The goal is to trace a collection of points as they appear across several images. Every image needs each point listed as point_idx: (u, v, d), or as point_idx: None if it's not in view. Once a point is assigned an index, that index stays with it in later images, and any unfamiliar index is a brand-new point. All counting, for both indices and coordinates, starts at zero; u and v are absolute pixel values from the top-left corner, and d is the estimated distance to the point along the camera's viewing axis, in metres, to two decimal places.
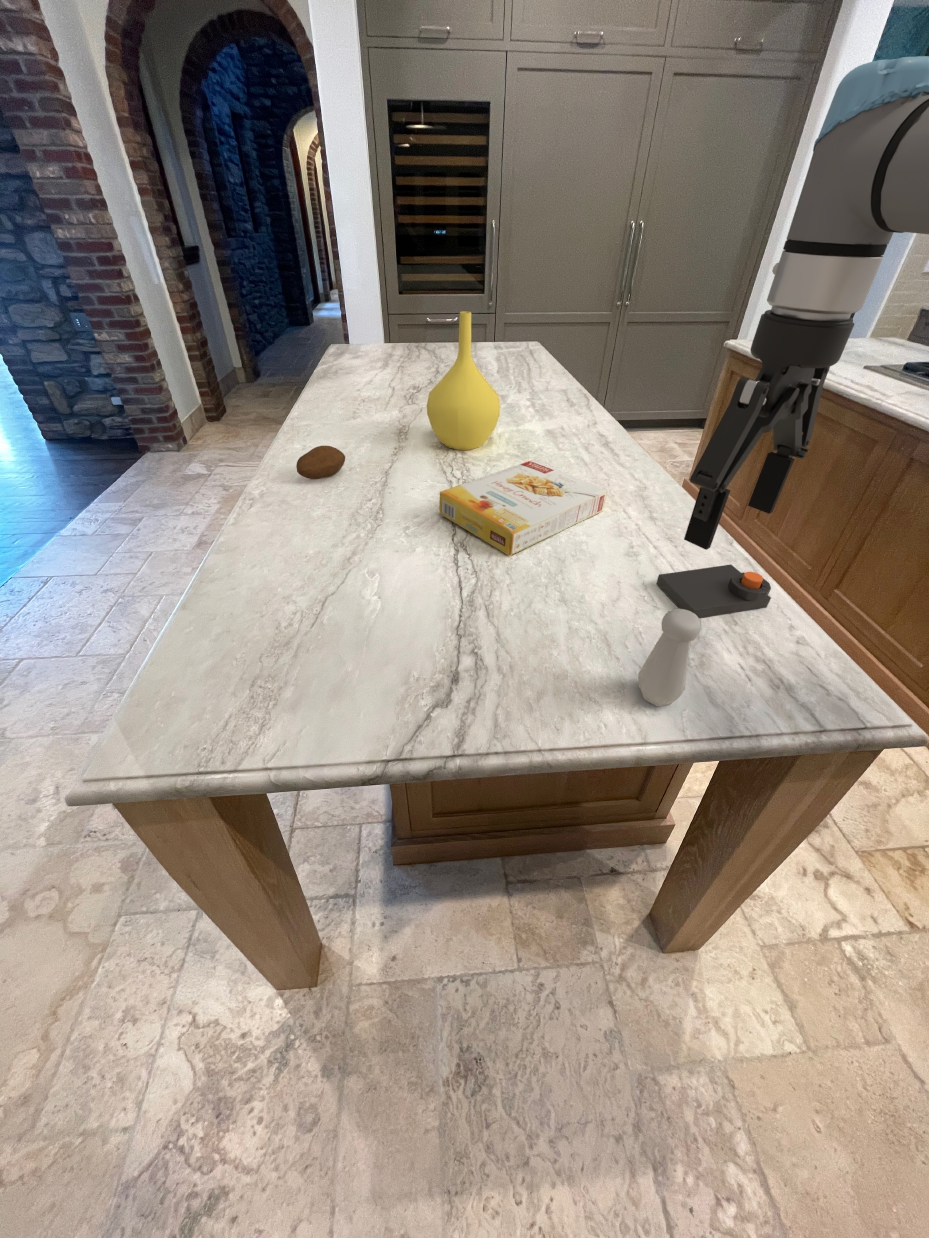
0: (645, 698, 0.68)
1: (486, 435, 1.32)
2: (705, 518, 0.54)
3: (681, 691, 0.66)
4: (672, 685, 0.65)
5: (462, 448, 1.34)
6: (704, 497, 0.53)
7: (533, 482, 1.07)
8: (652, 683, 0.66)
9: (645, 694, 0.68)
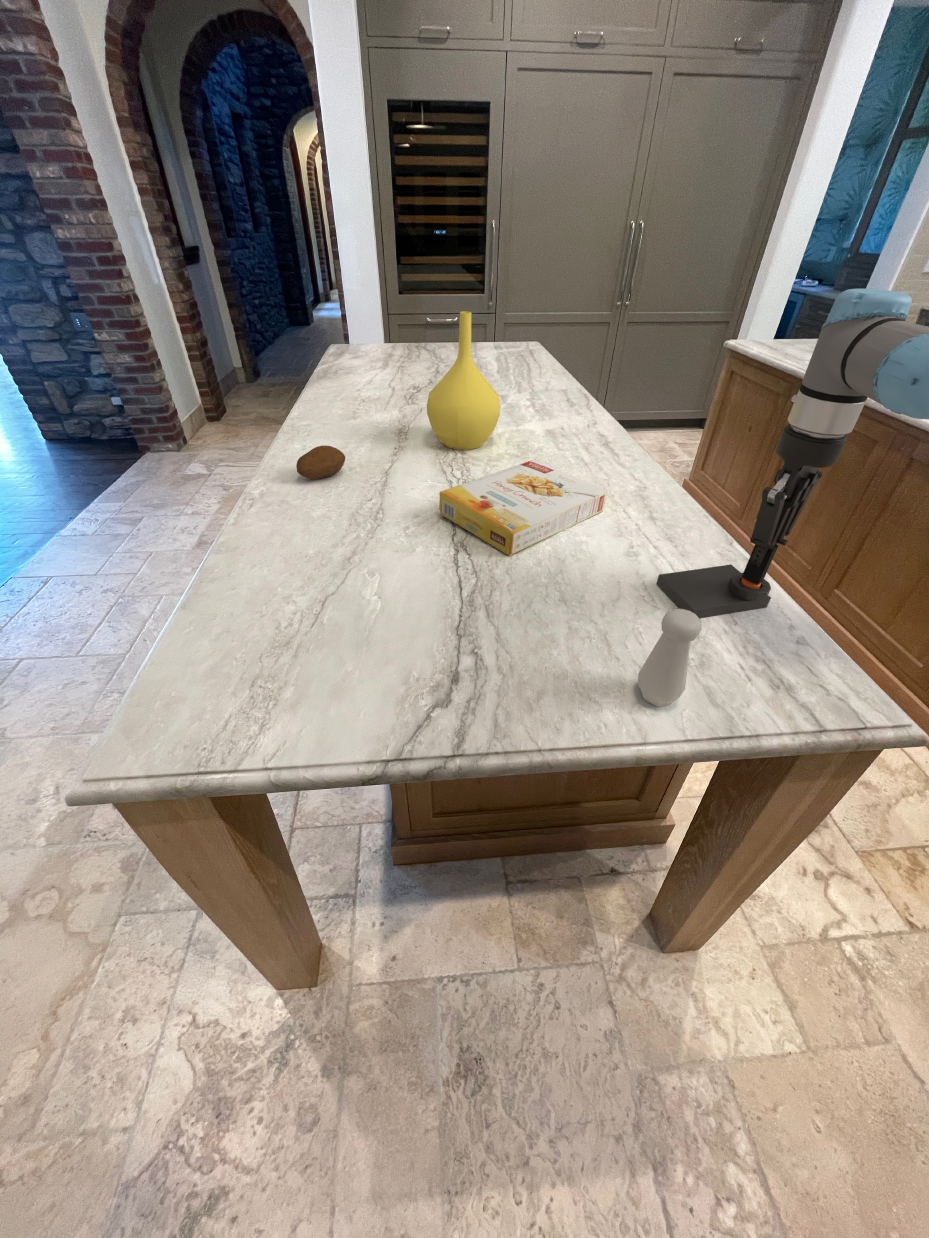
0: (645, 698, 0.68)
1: (486, 435, 1.32)
2: (758, 564, 0.81)
3: (681, 691, 0.66)
4: (672, 685, 0.65)
5: (462, 448, 1.34)
6: (758, 551, 0.80)
7: (533, 482, 1.07)
8: (652, 683, 0.66)
9: (645, 694, 0.68)
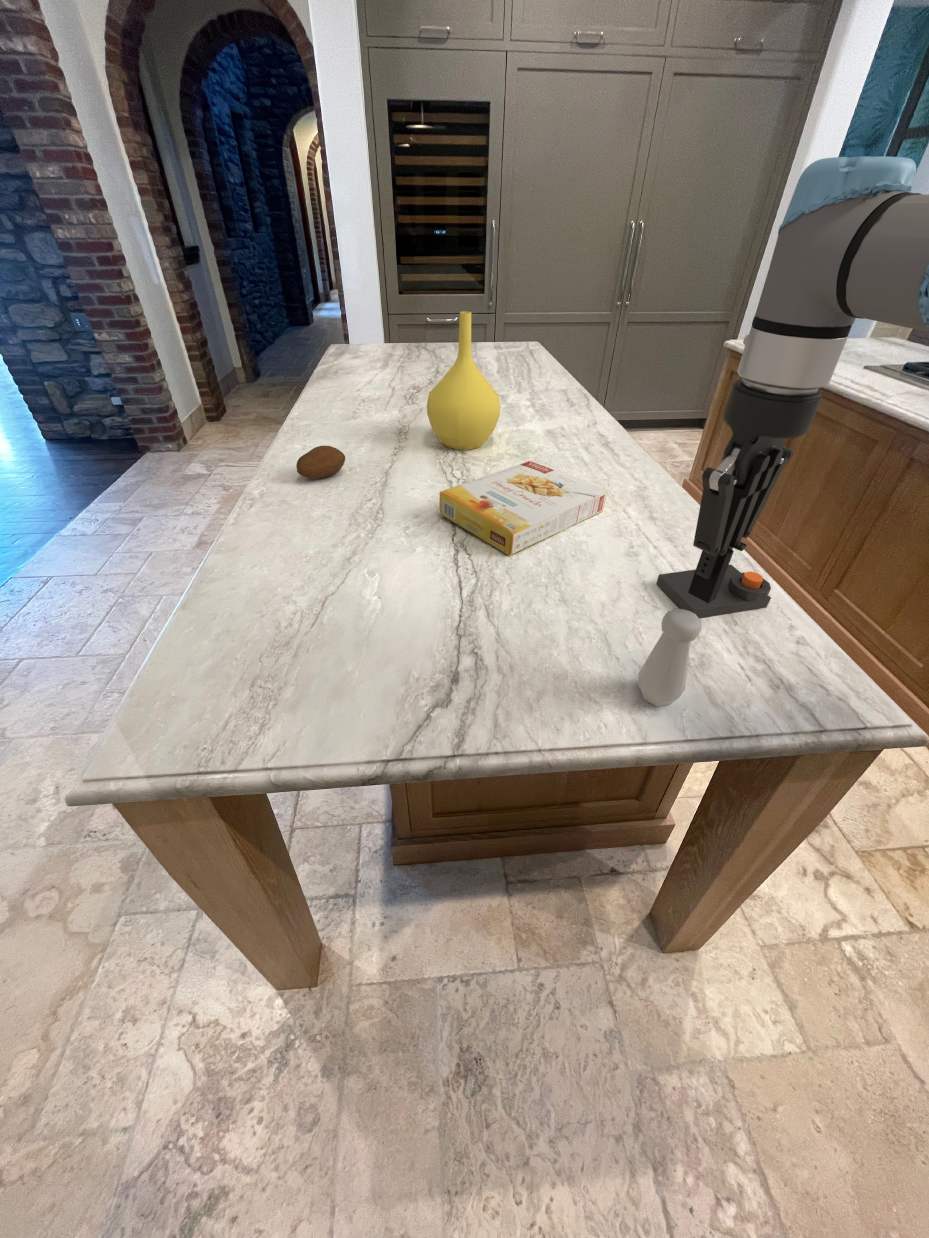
0: (645, 698, 0.68)
1: (486, 435, 1.32)
2: (707, 577, 0.59)
3: (681, 691, 0.66)
4: (672, 685, 0.65)
5: (462, 448, 1.34)
6: (706, 558, 0.58)
7: (533, 482, 1.07)
8: (652, 683, 0.66)
9: (645, 694, 0.68)
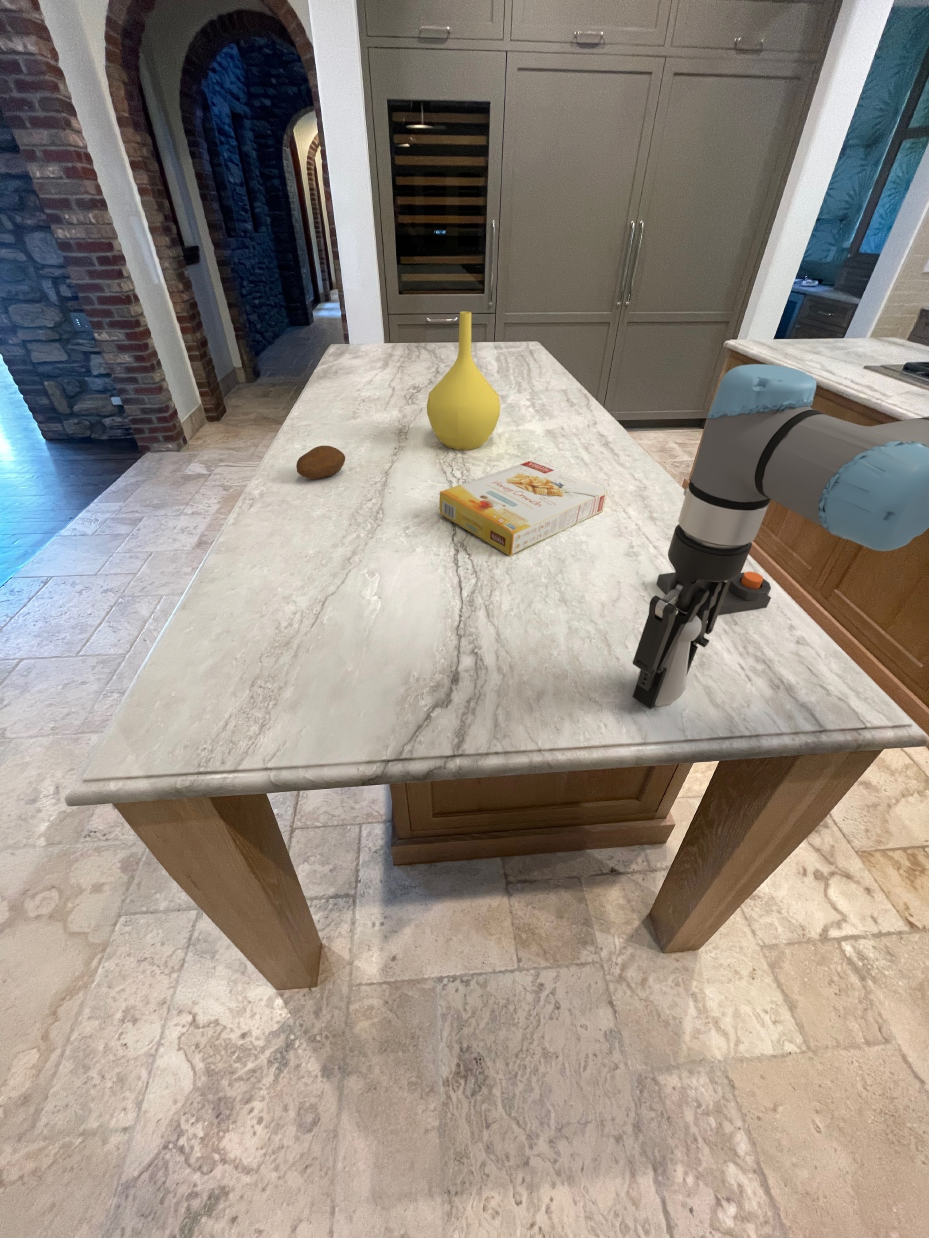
0: None
1: (486, 435, 1.32)
2: (647, 689, 0.64)
3: (681, 691, 0.66)
4: (672, 685, 0.65)
5: (462, 448, 1.34)
6: (645, 673, 0.63)
7: (533, 482, 1.07)
8: None
9: None
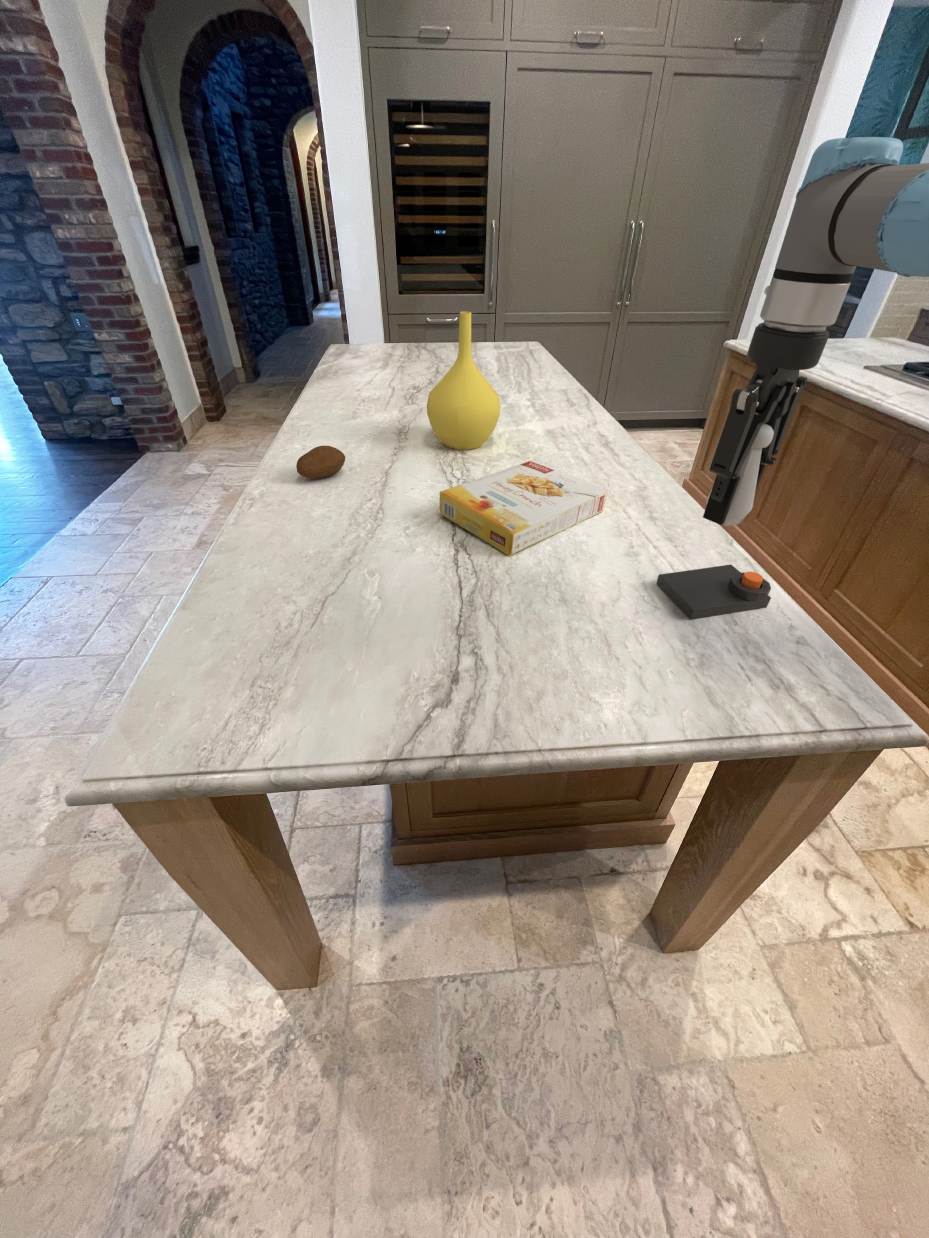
0: None
1: (486, 435, 1.32)
2: (720, 499, 0.69)
3: (750, 507, 0.71)
4: (742, 498, 0.70)
5: (462, 448, 1.34)
6: (720, 483, 0.68)
7: (533, 482, 1.07)
8: None
9: None
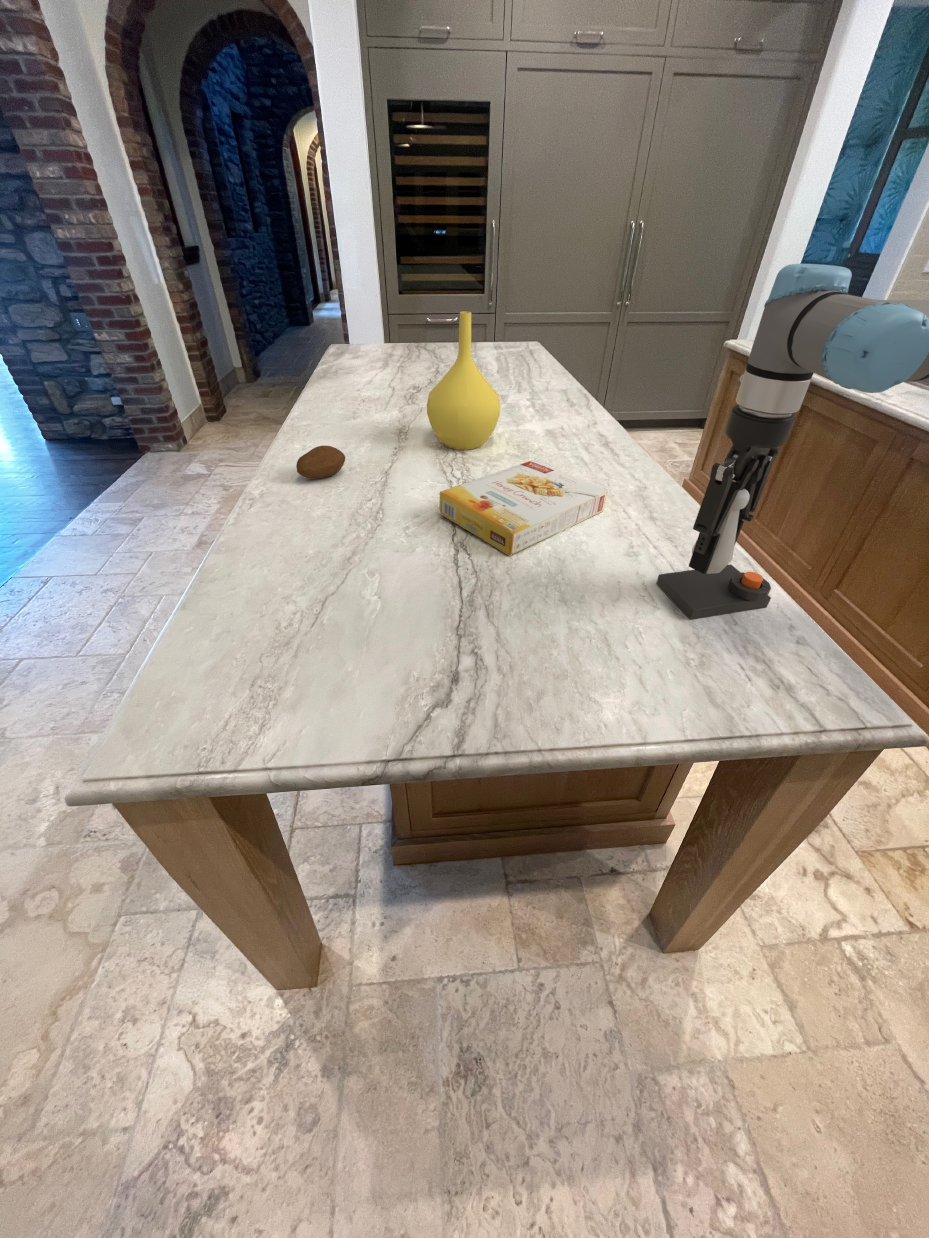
0: None
1: (486, 435, 1.32)
2: (703, 553, 0.78)
3: (730, 558, 0.80)
4: (723, 551, 0.79)
5: (462, 448, 1.34)
6: (702, 539, 0.77)
7: (533, 482, 1.07)
8: None
9: None
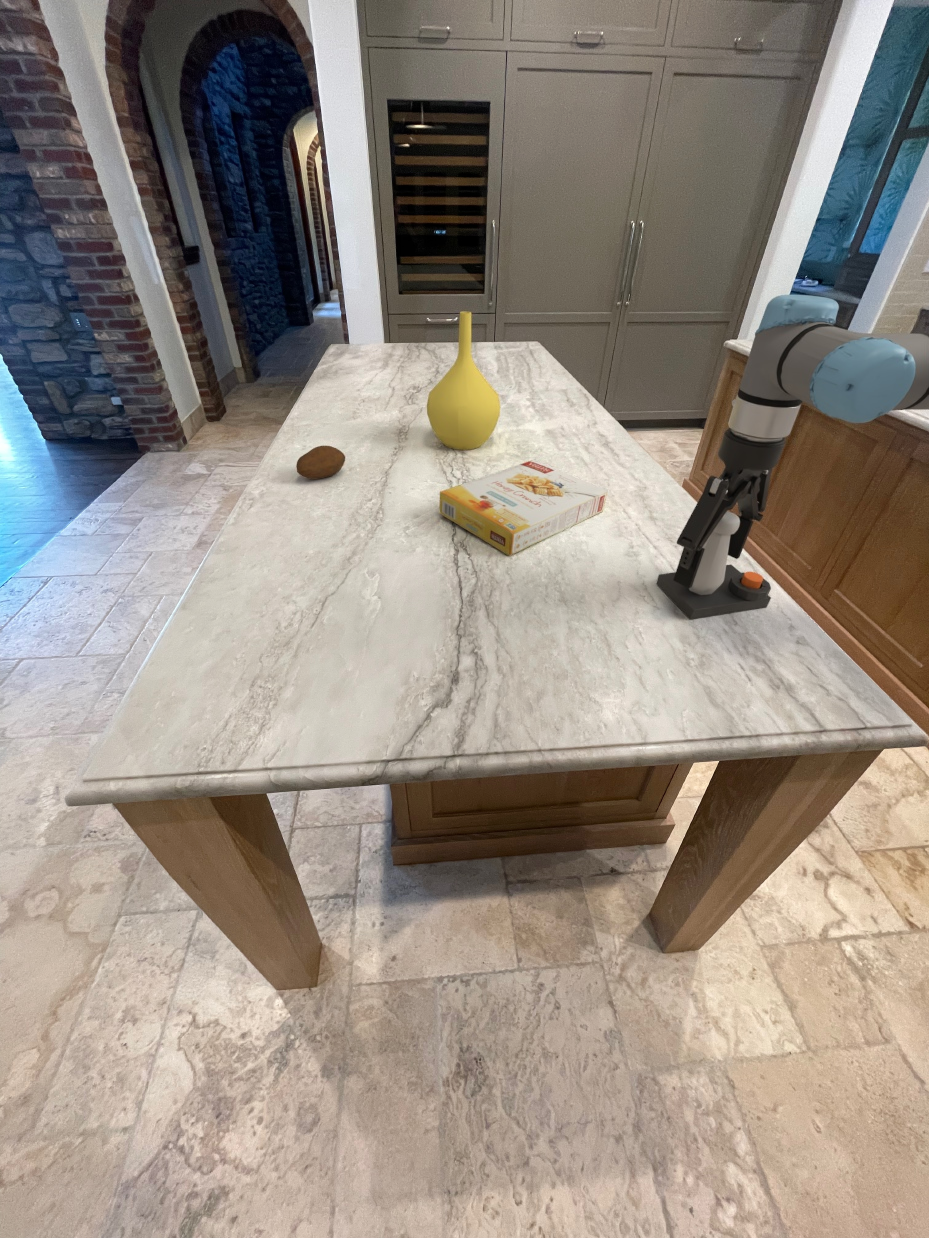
0: (691, 589, 0.85)
1: (486, 435, 1.32)
2: (687, 567, 0.77)
3: (721, 580, 0.82)
4: (714, 574, 0.81)
5: (462, 448, 1.34)
6: (687, 553, 0.76)
7: (533, 482, 1.07)
8: (698, 573, 0.82)
9: None
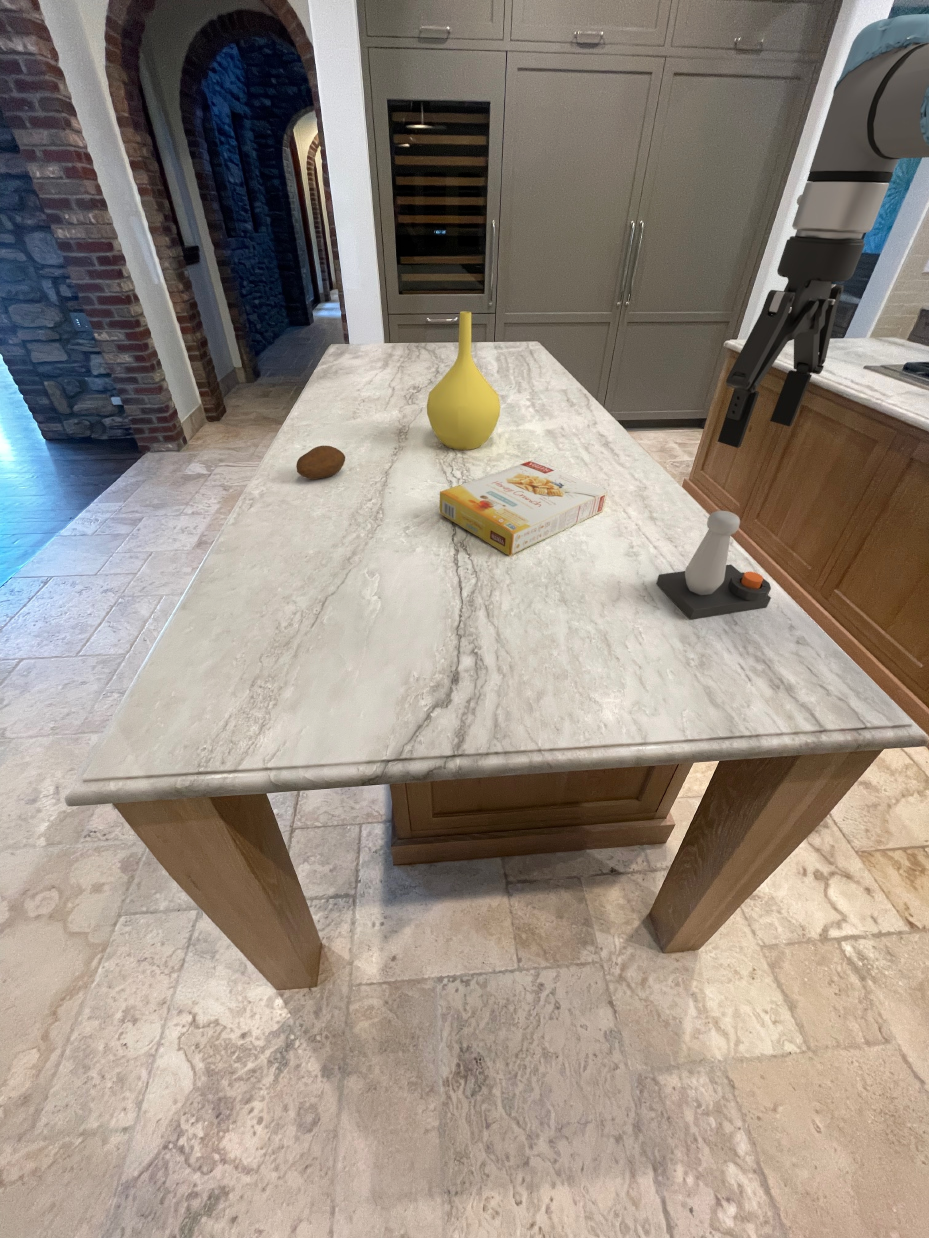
0: (691, 589, 0.85)
1: (486, 435, 1.32)
2: (737, 417, 0.64)
3: (721, 580, 0.82)
4: (714, 574, 0.81)
5: (462, 448, 1.34)
6: (737, 398, 0.63)
7: (533, 482, 1.07)
8: (698, 573, 0.82)
9: (691, 585, 0.84)
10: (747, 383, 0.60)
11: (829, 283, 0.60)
